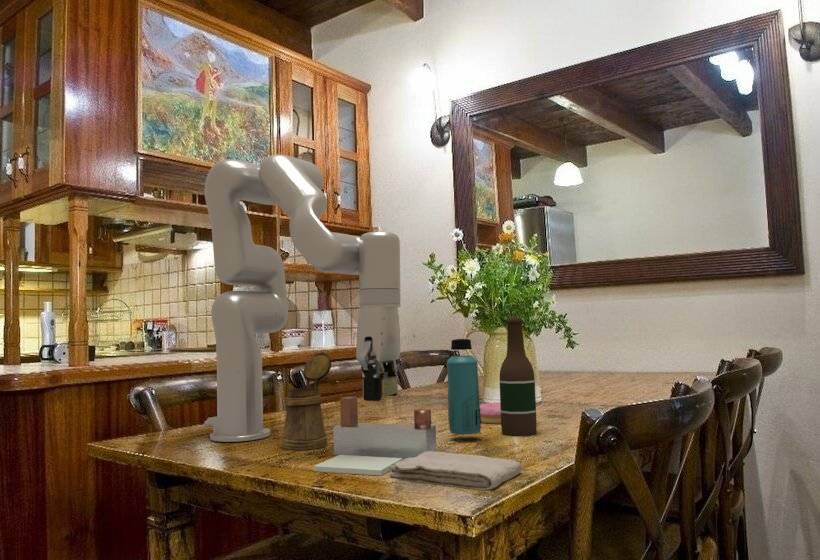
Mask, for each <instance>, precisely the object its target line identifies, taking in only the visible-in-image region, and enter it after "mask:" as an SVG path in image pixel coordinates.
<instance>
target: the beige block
mask: <svg viewBox="0 0 820 560" xmlns="http://www.w3.org/2000/svg"><path fill="white" fill-rule="evenodd" d="M378 378H381V398H385V397H390V396H389V395H392V394H395V393H397V394H398V393H399V392H398V391H399V389H398V384H399V383H398V381H399V379H398V378H399V377H398V375H397V376H388V372H382V371H380V372H379V377H378Z"/></svg>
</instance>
